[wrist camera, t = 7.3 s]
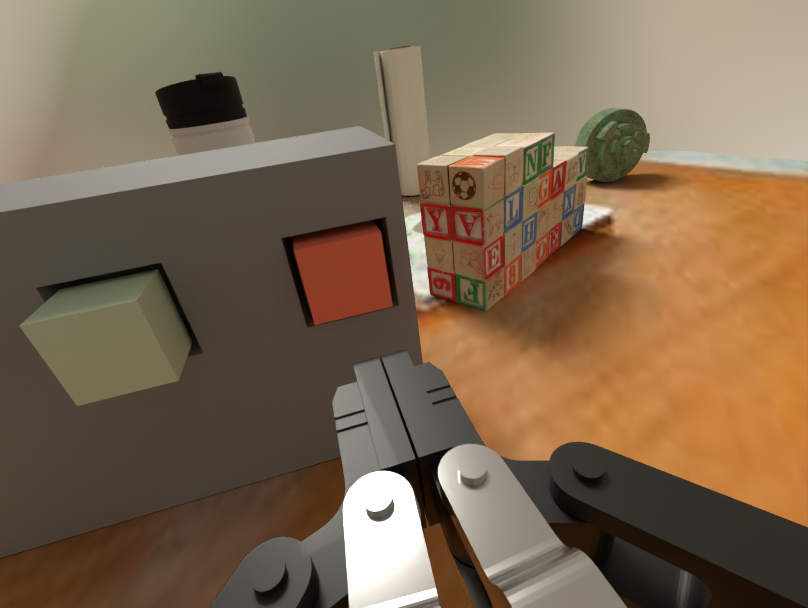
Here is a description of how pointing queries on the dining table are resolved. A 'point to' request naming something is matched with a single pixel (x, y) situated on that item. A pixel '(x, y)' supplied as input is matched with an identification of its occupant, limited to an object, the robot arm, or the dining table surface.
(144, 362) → the green button
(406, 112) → the paper towel roll
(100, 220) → the console
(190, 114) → the travel mug
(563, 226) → the stack of blocks
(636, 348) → the dining table surface
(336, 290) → the red button
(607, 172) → the decorative artifact
